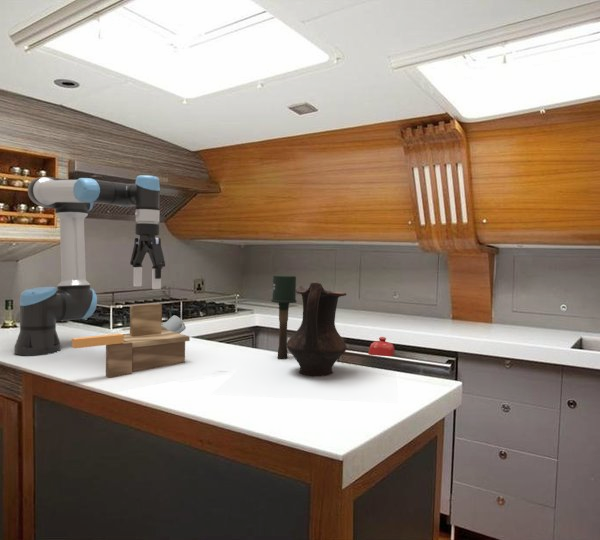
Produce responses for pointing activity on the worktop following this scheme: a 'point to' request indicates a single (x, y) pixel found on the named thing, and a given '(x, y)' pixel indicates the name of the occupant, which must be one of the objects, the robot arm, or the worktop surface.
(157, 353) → the open wooden box
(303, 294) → the jug
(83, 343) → the orange rectangular block
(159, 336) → the lid
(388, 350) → the butter dish
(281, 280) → the stick grenade
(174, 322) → the ceramic mug
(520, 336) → the worktop surface
